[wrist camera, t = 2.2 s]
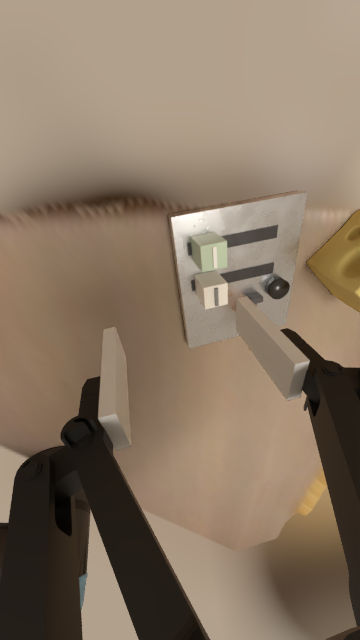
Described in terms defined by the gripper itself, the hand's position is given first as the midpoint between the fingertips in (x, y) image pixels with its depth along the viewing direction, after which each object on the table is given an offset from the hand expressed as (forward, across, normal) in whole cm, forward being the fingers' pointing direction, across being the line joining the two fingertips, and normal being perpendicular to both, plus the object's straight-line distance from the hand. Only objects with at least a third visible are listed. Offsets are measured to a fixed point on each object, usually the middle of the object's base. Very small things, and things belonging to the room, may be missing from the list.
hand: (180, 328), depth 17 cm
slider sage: (+15, +6, 0) cm, 17 cm away
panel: (+17, +12, -6) cm, 22 cm away
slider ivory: (+15, +6, -5) cm, 17 cm away
